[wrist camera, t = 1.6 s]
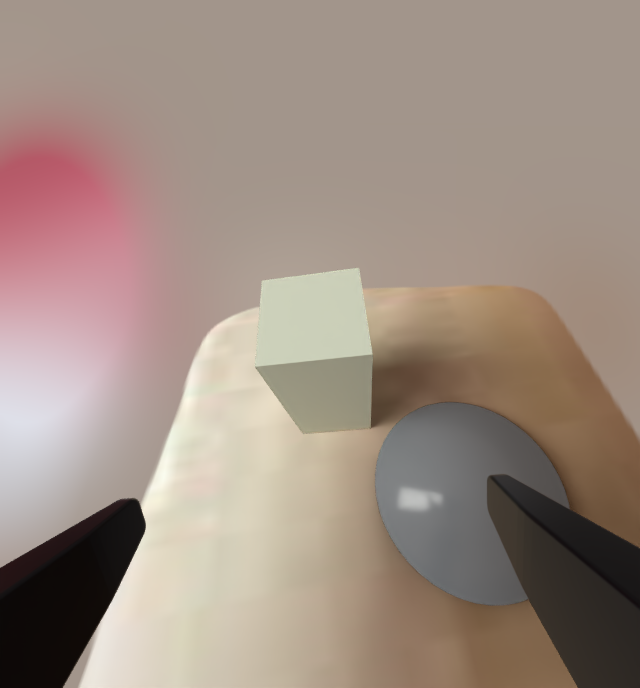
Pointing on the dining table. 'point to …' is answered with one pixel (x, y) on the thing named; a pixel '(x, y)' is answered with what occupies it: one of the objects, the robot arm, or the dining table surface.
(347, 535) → the dining table surface
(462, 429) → the slate coaster
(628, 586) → the robot arm
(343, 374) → the block
